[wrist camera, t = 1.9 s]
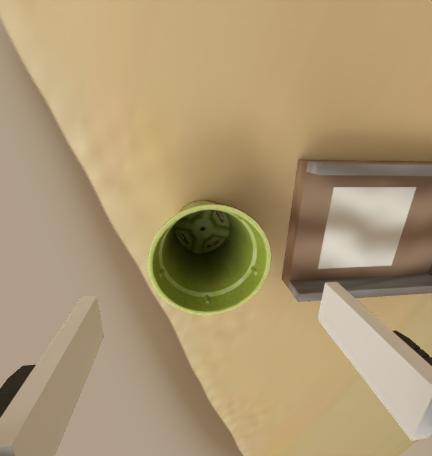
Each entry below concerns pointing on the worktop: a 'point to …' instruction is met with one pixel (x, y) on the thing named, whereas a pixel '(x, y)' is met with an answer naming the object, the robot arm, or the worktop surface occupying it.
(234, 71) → the worktop surface
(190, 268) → the plant pot
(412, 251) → the dock
